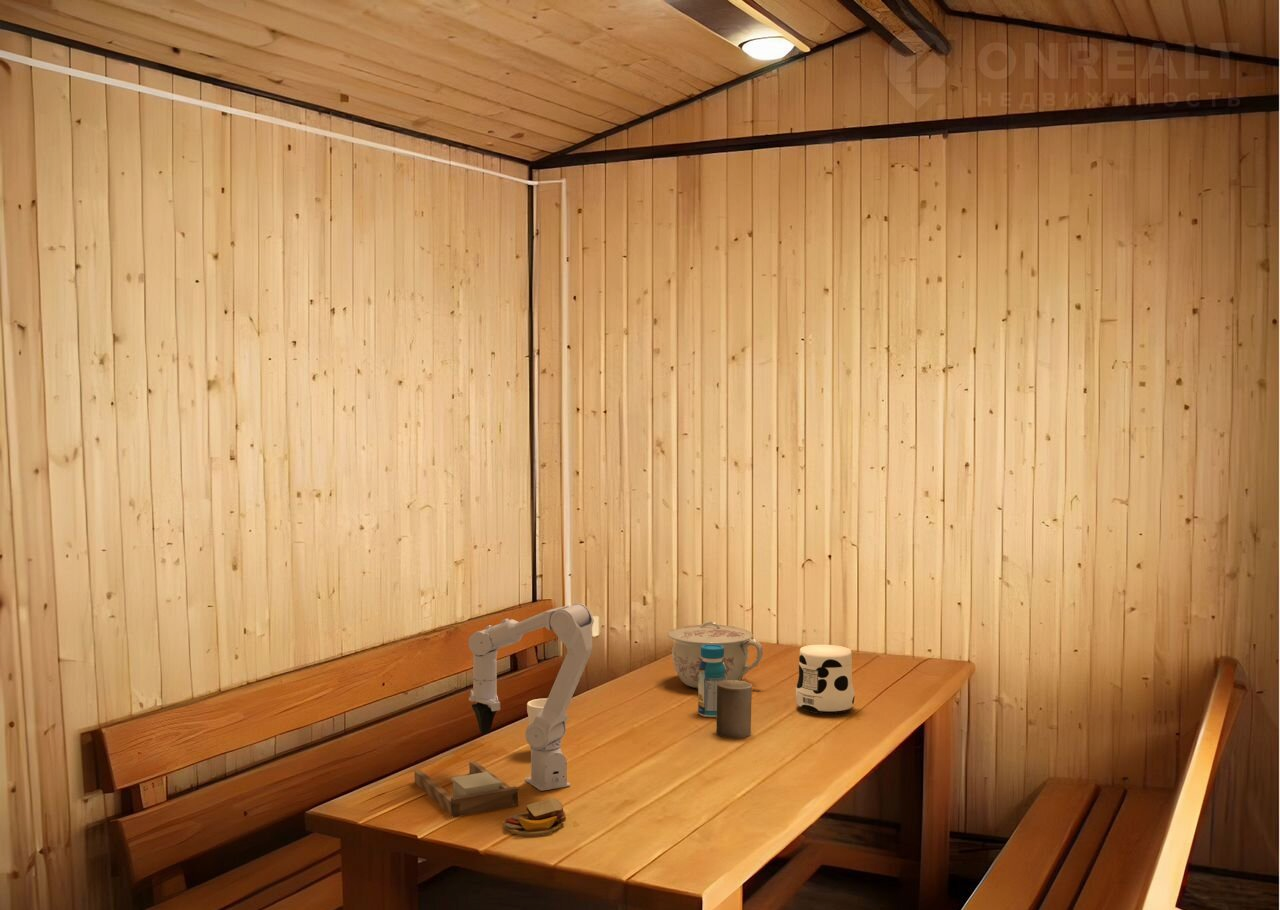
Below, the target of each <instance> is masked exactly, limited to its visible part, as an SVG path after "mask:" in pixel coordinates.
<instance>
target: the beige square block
mask: <svg viewBox="0 0 1280 910" xmlns="http://www.w3.org/2000/svg"><path fill="white" fill-rule="evenodd" d="M450 781H451V782H452V797H457V796H463V795H469V794H475V793H481V792H486V791H492V790H498V789H499V786H501V783H500V782H499V781H498V780H496V779H495V778H494V777H492V776H491V775H490V774H488V773H487V772H483V773H477V774H471V775H470V774H466V775H459V776H453V777H451V780H450Z"/></svg>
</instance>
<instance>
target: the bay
mask: <svg viewBox="0 0 1280 910" xmlns="http://www.w3.org/2000/svg"><path fill="white" fill-rule="evenodd" d="M483 772H487V773H488V774H490V775H491V776H492V777H494V778H495V779H496V780H498V781H499V782H500V783H501V786H499V789H498V790H492V791H486V792H481V793H475V794H469V795H463V796H457V797H453V795H451V794H450V793H449V792H447V791H446V790H445V789H444V788H443V787H442V786H440V785H439V784H438V783H437V782H436V781H435V780H434V779H432V778H431V777H430V776H429V775H428V774H426V773H425V772H424V771H423V770H422V769H417V770H416V769H415V770H414V784H415V785H416V786H417V787H419V788H420V789H421V790H422V792H424V793H426V794H427V795H428V796H429V797H430V798H431V799H432V800H433V801H434V802H436V803H437V804H438V805H439V806H440V807H441V809H443V808H444V810H445V812H446V813H448V814H449V813H450V814H451V815H452V816H453V817H452V816H451V815H450V814H449V815H450V816H451V817H452V818H457V817H463V816H469V815H474V814H475V815H476V814H479V813H486V812H492V811H496V810H501V809H507V808H512V807H513V808H514V807H517V806H519V787H517V786H515V785H514V786H509V784H507V783H506V782H504V780H502V779H500V778H499V777H497V776H496V775H495V774H494V773H492V772H491V771H490V770H489V769H487V768H485V767H484V766H483V765H482V764H480V763H479V762H477V760H473V761H469V775H471V774H477V773H483Z"/></svg>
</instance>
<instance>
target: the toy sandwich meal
mask: <svg viewBox="0 0 1280 910" xmlns="http://www.w3.org/2000/svg"><path fill="white" fill-rule="evenodd" d="M525 807H526V811H527V812H521V813H517V814H516V813H515V814H514V815H510V816H508V817H507V818H506V819H505V820H504V821H503V827H504V828H505V829H506V830H507V831H508V830H509V831H510V833H511V832H512V834H513V833H514V835H516V834H517V836H523V837H537V835H540V836H544V835H543V834H546V835H549V834H551V833H550V832H552V833H554V832H555V831H557V830H558V828H560V827H561V826H562V823H565V822H566V819H567V817H566V812H565V810H564V805H563V803H562V802H561V801H560V800H559V799H557V798H554V797H549V798H546V799H544V800H540V801H535V802H533V803H530V804H527V805H526V806H525ZM556 829H557V830H556ZM554 830H555V831H554ZM553 831H554V832H553ZM548 833H549V834H548Z"/></svg>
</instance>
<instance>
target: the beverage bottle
mask: <svg viewBox="0 0 1280 910" xmlns="http://www.w3.org/2000/svg"><path fill="white" fill-rule="evenodd" d="M701 658H703V660H702V661H701V663H700V665H699V668H698V671H699V675H698V689H697V691H698V693H697V694H698V695H697V697H698V699H697V701H698V702H697V704H698V705H697V713H698V714H699V716H700V717H701V716H702V717H705V718H717V684H718V682H721V681H725V680H727V677H726V675H725V672H726V666H725V664H724V662H723V661H722V659H723V658H724V647H723V646H721V645H715V644H708V645H703V646H701Z"/></svg>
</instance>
